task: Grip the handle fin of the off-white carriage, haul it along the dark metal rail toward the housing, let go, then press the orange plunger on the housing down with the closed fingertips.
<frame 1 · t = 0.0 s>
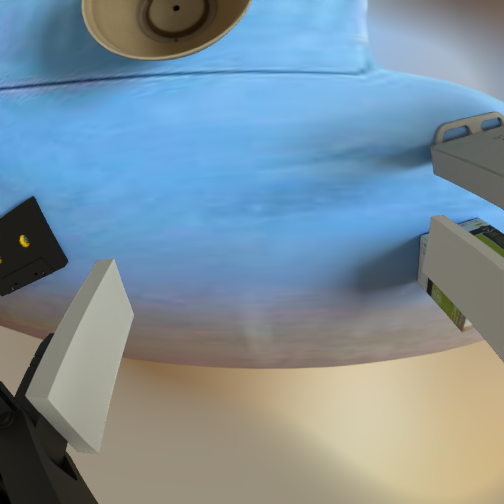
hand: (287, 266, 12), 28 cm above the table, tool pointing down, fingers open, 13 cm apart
black cassette tape: (17, 247, 39), on the table
tea box: (449, 248, 47), on the table
network device: (474, 141, 38), on the table
planter bowl: (178, 13, 28), on the table
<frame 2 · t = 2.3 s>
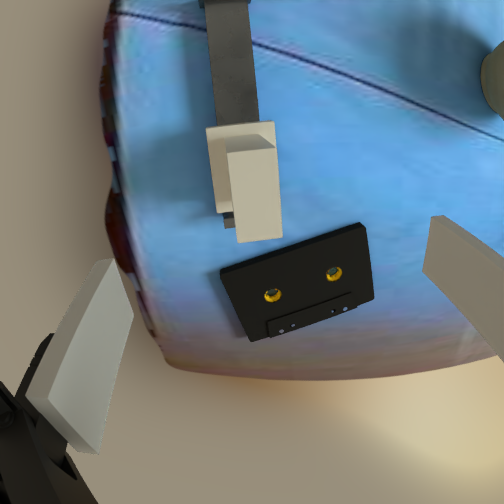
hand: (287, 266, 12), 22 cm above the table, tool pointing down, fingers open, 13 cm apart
rail: (235, 102, 28), on the table
black cassette tape: (301, 280, 39), on the table
carriage: (248, 176, 24), point 8 cm above the table, slide at 14.0 cm
planter bowl: (497, 84, 28), on the table
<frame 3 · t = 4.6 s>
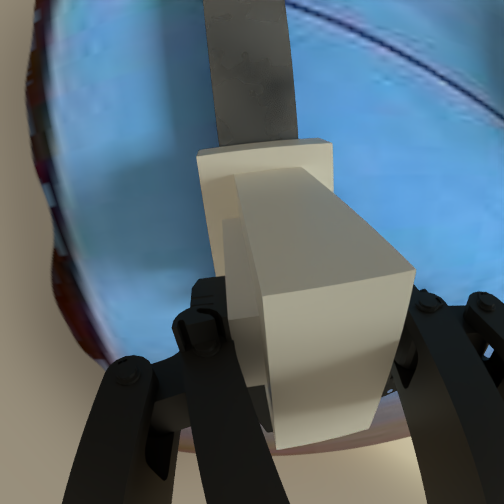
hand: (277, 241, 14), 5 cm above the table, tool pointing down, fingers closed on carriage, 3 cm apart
rail: (251, 103, 16), on the table
black cassette tape: (338, 362, 27), on the table
carriage: (288, 270, 11), point 8 cm above the table, slide at 14.0 cm, touching gripper
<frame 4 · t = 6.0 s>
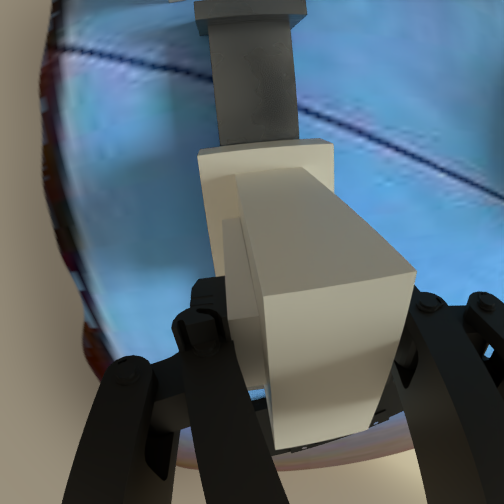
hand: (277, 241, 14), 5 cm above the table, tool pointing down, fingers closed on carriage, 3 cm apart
rail: (262, 213, 19), on the table
black cassette tape: (330, 401, 30), on the table
carriage: (288, 270, 11), point 8 cm above the table, slide at 7.3 cm, touching gripper
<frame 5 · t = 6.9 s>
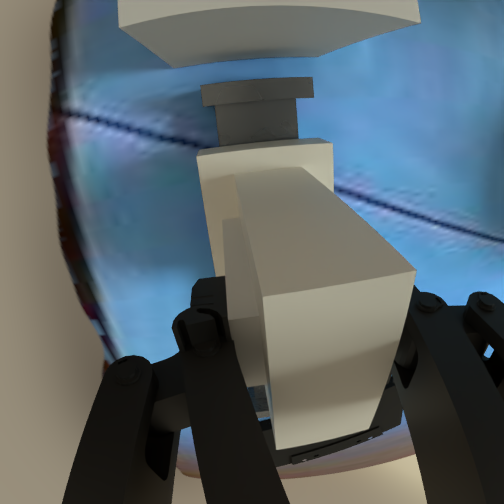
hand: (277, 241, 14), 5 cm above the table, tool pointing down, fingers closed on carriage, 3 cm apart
rail: (267, 273, 21), on the table
black cassette tape: (328, 419, 32), on the table
carriage: (288, 270, 11), point 8 cm above the table, slide at 3.1 cm, touching gripper
housing: (241, 4, 13), on the table
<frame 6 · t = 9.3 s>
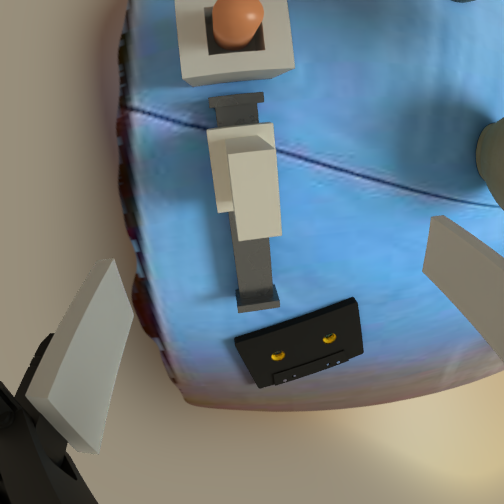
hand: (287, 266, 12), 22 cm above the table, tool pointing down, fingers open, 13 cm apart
rail: (245, 204, 34), on the table
black cassette tape: (301, 341, 46), on the table
carriage: (248, 177, 25), point 8 cm above the table, slide at 3.0 cm
housing: (228, 50, 26), on the table
planter bowl: (492, 153, 34), on the table
plunger: (235, 24, 16), point 11 cm above the table, slide at 0.0 cm
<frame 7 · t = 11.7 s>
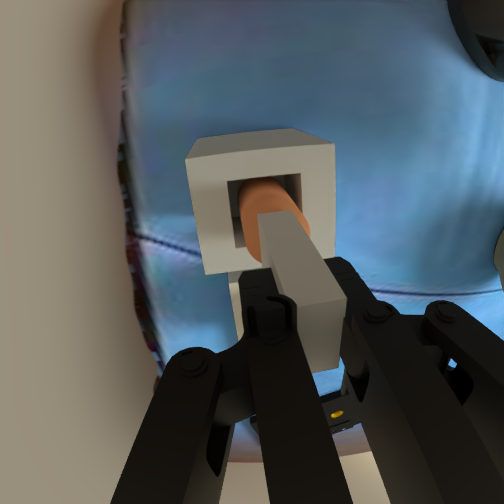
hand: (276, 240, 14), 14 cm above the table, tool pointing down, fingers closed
black cassette tape: (311, 414, 45), on the table
carriage: (273, 342, 25), point 8 cm above the table, slide at 3.0 cm
housing: (250, 172, 26), on the table
plunger: (268, 214, 17), point 10 cm above the table, slide at 0.6 cm, touching gripper
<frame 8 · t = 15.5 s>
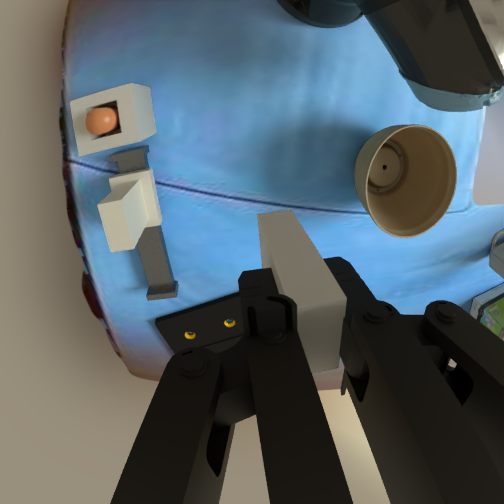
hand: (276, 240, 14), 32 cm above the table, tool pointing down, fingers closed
rail: (147, 223, 46), on the table
black cassette tape: (210, 324, 58), on the table
tea box: (486, 301, 66), on the table
carriage: (127, 210, 37), point 8 cm above the table, slide at 3.0 cm
housing: (127, 116, 38), on the table
planter bowl: (379, 165, 46), on the table
plunger: (106, 119, 31), point 9 cm above the table, slide at 2.1 cm
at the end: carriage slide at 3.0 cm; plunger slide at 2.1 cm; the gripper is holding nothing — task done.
